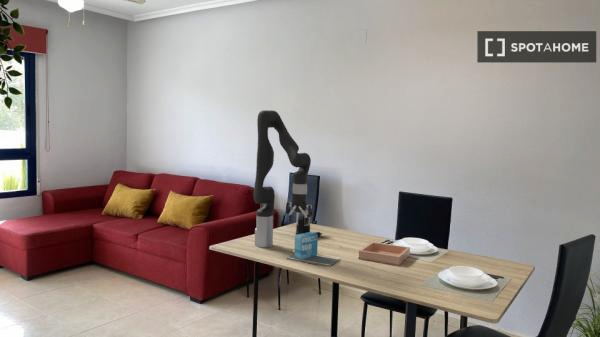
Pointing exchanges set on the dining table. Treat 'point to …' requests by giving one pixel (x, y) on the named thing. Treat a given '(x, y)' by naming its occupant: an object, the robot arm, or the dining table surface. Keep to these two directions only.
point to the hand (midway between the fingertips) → (298, 223)
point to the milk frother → (303, 225)
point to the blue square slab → (306, 245)
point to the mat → (316, 260)
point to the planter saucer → (384, 253)
